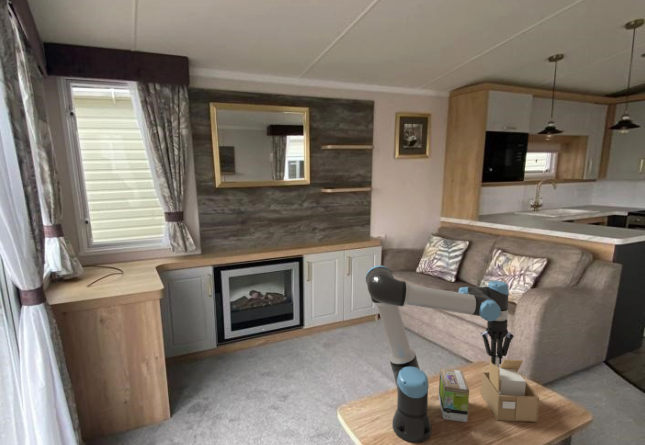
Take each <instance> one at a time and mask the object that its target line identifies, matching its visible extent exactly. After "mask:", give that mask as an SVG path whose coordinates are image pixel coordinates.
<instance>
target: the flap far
mask: <svg viewBox="0 0 645 445" xmlns="http://www.w3.org/2000/svg"><path fill="white" fill-rule="evenodd" d="M523 361H524V360H523V359H503V360H502V362H501V364H500V366H499V368H510V369H515V370H516V371H517V372H518V371H519V370H520V368H521V365H522V364H523Z"/></svg>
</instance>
